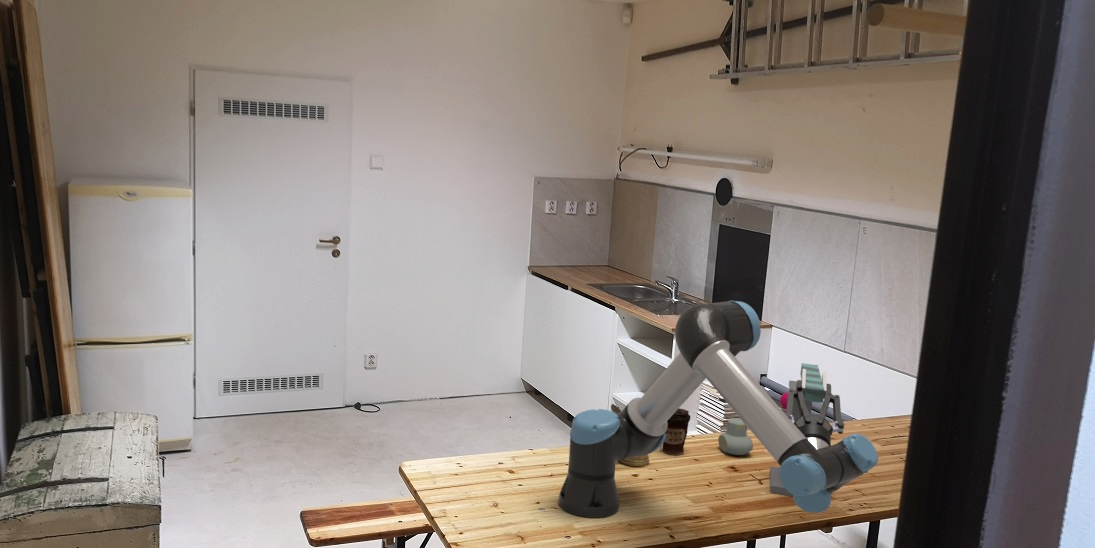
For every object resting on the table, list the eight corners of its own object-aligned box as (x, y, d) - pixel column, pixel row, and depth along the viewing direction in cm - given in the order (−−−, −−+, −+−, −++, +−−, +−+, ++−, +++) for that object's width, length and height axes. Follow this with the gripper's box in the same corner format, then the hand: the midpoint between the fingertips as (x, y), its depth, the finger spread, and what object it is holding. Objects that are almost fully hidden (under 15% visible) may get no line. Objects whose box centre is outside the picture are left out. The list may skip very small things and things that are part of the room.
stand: (816, 500, 223) (828, 398, 219) (770, 492, 226) (781, 392, 222) (813, 479, 239) (824, 383, 235) (769, 472, 241) (780, 378, 238)
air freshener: (715, 446, 262) (718, 415, 260) (740, 446, 263) (743, 415, 262) (728, 458, 251) (731, 426, 250) (754, 458, 253) (757, 426, 251)
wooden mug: (599, 459, 243) (603, 399, 240) (638, 454, 249) (643, 396, 247) (615, 470, 235) (620, 408, 232) (655, 465, 241) (660, 404, 239)
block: (823, 403, 192) (824, 390, 191) (804, 400, 193) (806, 388, 192) (816, 376, 217) (817, 365, 216) (800, 374, 218) (801, 363, 217)
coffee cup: (686, 458, 248) (690, 416, 247) (658, 455, 250) (662, 413, 248) (687, 449, 257) (691, 408, 255) (660, 445, 258) (664, 405, 257)
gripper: (770, 452, 187) (775, 380, 205) (850, 465, 183) (848, 390, 201) (774, 430, 183) (778, 358, 201) (856, 442, 179) (853, 367, 197)
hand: (813, 374), depth 201 cm, fingers closed on block, 4 cm apart
